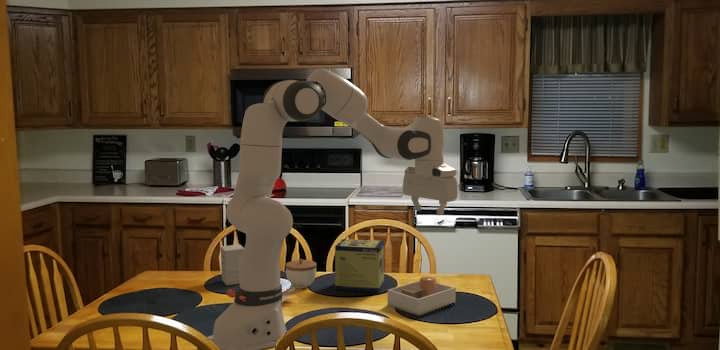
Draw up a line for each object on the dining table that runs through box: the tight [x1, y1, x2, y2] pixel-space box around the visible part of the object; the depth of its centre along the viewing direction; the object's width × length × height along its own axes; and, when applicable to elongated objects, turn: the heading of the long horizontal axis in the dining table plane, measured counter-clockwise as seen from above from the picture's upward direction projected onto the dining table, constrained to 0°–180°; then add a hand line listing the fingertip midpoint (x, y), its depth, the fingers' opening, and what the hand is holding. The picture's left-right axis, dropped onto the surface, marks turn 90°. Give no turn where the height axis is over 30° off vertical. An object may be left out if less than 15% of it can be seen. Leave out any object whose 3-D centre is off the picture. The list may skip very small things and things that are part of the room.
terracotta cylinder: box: [419, 276, 437, 297], centre depth 205 cm, size 5×5×7 cm
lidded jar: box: [285, 258, 317, 289], centre depth 223 cm, size 11×11×9 cm
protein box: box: [334, 238, 385, 293], centre depth 221 cm, size 10×16×16 cm
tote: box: [387, 280, 457, 317], centre depth 203 cm, size 13×17×5 cm
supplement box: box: [220, 243, 245, 286], centre depth 228 cm, size 7×7×13 cm
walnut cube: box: [402, 286, 424, 299], centre depth 200 cm, size 5×5×5 cm
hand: (428, 212), depth 202 cm, fingers open, 8 cm apart
